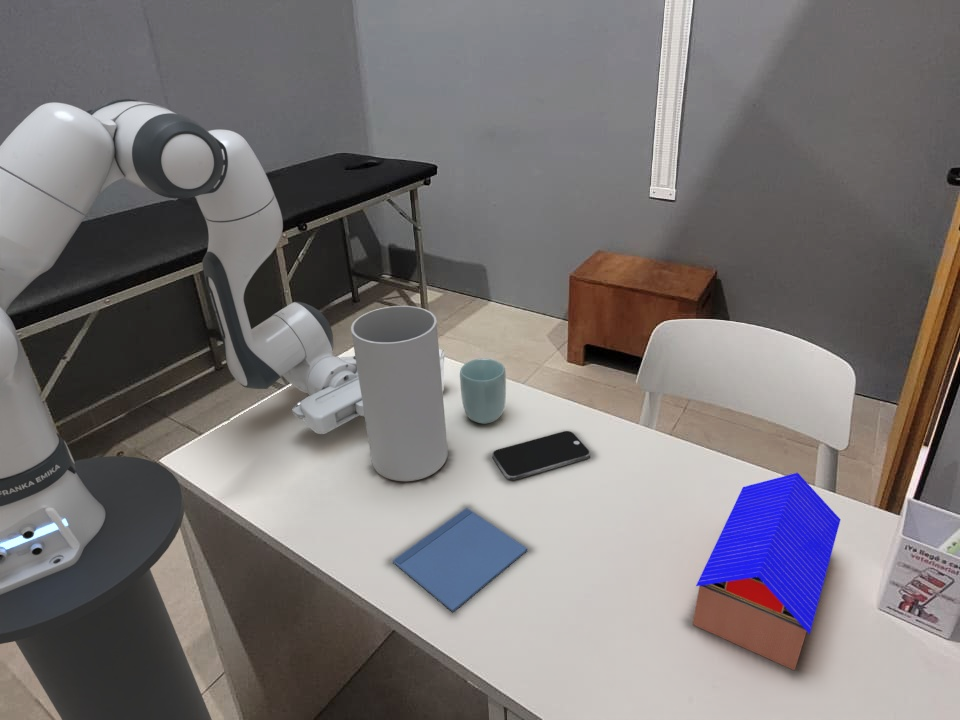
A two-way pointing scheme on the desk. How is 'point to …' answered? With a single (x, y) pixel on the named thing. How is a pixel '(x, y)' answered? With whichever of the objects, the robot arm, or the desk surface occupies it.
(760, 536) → the house
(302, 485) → the desk surface
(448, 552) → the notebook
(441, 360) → the milkshake
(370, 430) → the cylinder vase
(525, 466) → the smartphone
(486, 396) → the cup
